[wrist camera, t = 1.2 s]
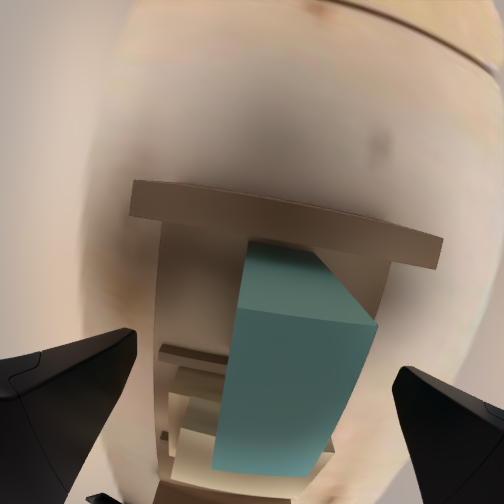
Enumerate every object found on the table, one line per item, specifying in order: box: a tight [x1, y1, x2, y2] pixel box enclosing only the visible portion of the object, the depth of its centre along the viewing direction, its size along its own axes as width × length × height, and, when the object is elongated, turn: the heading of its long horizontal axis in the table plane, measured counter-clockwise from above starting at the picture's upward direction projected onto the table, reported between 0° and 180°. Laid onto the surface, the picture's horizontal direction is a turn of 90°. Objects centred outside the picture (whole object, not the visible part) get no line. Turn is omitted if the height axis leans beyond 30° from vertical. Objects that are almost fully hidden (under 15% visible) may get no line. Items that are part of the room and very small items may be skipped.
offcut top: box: [171, 396, 335, 499], centre depth 11 cm, size 5×7×2 cm
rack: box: [129, 180, 444, 504], centre depth 14 cm, size 24×11×5 cm, turn 170°
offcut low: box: [168, 366, 226, 457], centre depth 14 cm, size 6×8×2 cm
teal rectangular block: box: [211, 241, 378, 477], centre depth 10 cm, size 6×3×8 cm, turn 170°
